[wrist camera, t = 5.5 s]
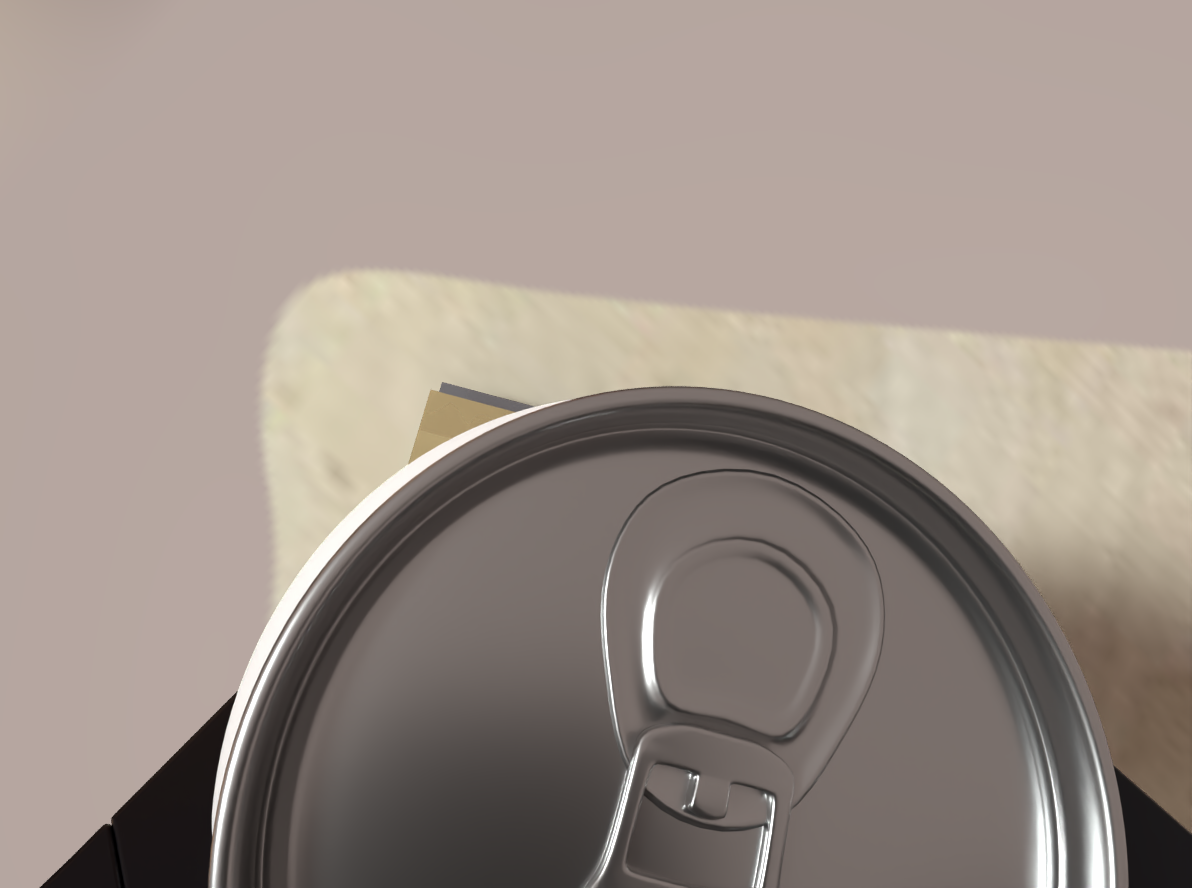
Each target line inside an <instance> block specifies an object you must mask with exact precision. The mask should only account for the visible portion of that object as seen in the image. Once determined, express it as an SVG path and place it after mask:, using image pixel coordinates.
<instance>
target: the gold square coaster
mask: <svg viewBox="0 0 1192 888" xmlns="http://www.w3.org/2000/svg"><path fill="white" fill-rule="evenodd" d="M533 407H534V406H530V405H526V404H522V403H519V402H515V401H511V400H507V399H504V398H500V397H496V396H492V395H489V394H485V393H481V392H477V391H474V390H470V389H466V388H462V387H459V386H455V385H451V384H447V383H444V382H442V384H441V388H440V391H439V392H438V391H434V390H431V391H430V394H429V397H428V401H427V404H426V407H425V410H424V414H423V417H422V420H421V424H420V427H419V430H418V434H417V437H416V440H415V444H414V447H413V450H412V454H411V457H410V460H409V463H408V464H410V463H411V462H413V461H414V460H416V459H417V458H419V457H420V456H422V455H424V454H425V453H427V452H429V451H430V450H432V449H434V448H435V447H437V446H439V445H441V444H442V443H444V442H446V441H448V440H450V439H452V438H454V437H456V436H458V435H460V434H462V433H464V432H466V431H468V430H470V429H472V428H475V427H477V426H480V425H482V424H484V423H487V422H489V421H492V420H495V419H497V418H500V417H503V416H506V415H509V414H512V413H515V412H518V411H522V410H525V409H529V408H533Z"/></svg>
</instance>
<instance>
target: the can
mask: <svg viewBox="0 0 1192 888" xmlns="http://www.w3.org/2000/svg"><path fill="white" fill-rule="evenodd" d="M208 888H1129V877H1128V860H1127V847H1126V837H1125V828H1124V821H1123V814H1122V807H1121V801H1120V795H1119V790H1118V785H1117V780H1116V775H1115V771H1114V767H1113V762H1112V758H1111V754H1110V751H1109V747H1108V743H1107V740H1106V736H1105V733H1104V730H1103V727H1102V723H1101V720H1100V717H1099V714H1098V711H1097V709H1096V706H1095V703H1094V700H1093V697H1092V695H1091V692H1090V690H1089V687H1088V685H1087V682H1086V680H1085V677H1084V675H1083V673H1082V670H1081V668H1080V666H1079V664H1078V661H1077V659H1076V657H1075V655H1074V653H1073V651H1072V649H1071V647H1070V645H1069V643H1068V641H1067V639H1066V637H1065V635H1064V633H1063V631H1062V630H1061V628H1060V626H1059V624H1058V622H1057V620H1056V619H1055V617H1054V615H1053V614H1052V612H1051V610H1050V609H1049V607H1048V605H1047V604H1046V602H1045V600H1044V599H1043V597H1042V596H1041V594H1040V593H1039V591H1038V590H1037V588H1036V587H1035V585H1034V584H1033V582H1032V581H1031V580H1030V578H1029V577H1028V575H1027V574H1026V573H1025V571H1024V570H1023V568H1022V567H1021V566H1020V564H1019V563H1018V562H1017V561H1016V559H1015V558H1014V557H1013V556H1012V554H1011V553H1010V552H1009V550H1008V549H1007V548H1006V547H1005V546H1004V545H1003V543H1002V542H1001V541H1000V540H999V539H998V538H997V536H996V535H995V534H994V533H993V532H992V531H991V530H990V529H989V528H988V527H987V525H986V524H985V523H984V522H983V521H982V520H981V519H980V518H979V517H978V516H977V515H976V514H975V513H974V512H973V511H972V510H971V509H970V508H969V507H968V506H967V505H966V504H965V503H963V502H962V501H961V500H960V499H959V498H958V497H957V496H956V495H955V494H953V493H952V492H951V491H950V490H949V489H948V488H946V487H945V486H944V485H943V484H942V483H940V482H939V481H938V480H937V479H935V478H934V477H933V476H931V475H930V474H929V473H927V472H926V471H925V470H924V469H922V468H921V467H919V466H918V465H917V464H915V463H914V462H912V461H911V460H909V459H908V458H906V457H905V456H903V455H902V454H900V453H899V452H897V451H895V450H894V449H892V448H891V447H889V446H887V445H886V444H884V443H882V442H880V441H879V440H877V439H875V438H873V437H872V436H870V435H868V434H866V433H864V432H862V431H860V430H858V429H856V428H854V427H852V426H850V425H847V424H845V423H843V422H841V421H839V420H836V419H834V418H831V417H829V416H826V415H824V414H821V413H819V412H816V411H813V410H810V409H807V408H805V407H802V406H799V405H795V404H792V403H788V402H785V401H782V400H778V399H774V398H769V397H765V396H761V395H756V394H751V393H746V392H740V391H733V390H726V389H717V388H706V387H686V386H663V387H644V388H634V389H624V390H617V391H611V392H604V393H599V394H594V395H589V396H584V397H580V398H576V399H572V400H565V401H559V402H555V403H550V404H545V405H540V406H537V407H533V408H529V409H525V410H522V411H518V412H515V413H512V414H509V415H506V416H503V417H500V418H497V419H495V420H492V421H489V422H487V423H484V424H482V425H480V426H477V427H475V428H472V429H470V430H468V431H466V432H464V433H462V434H460V435H458V436H456V437H454V438H452V439H450V440H448V441H446V442H444V443H442V444H441V445H439V446H437V447H435V448H434V449H432V450H430V451H429V452H427V453H425V454H424V455H422V456H420V457H419V458H417V459H416V460H414V461H413V462H411V463H410V464H408V465H407V466H405V467H404V468H403V469H401V470H400V471H398V472H397V473H396V474H394V475H393V476H392V477H390V478H389V479H388V480H386V481H385V482H384V483H383V484H382V485H380V486H379V487H378V488H377V489H375V490H374V491H373V492H372V493H371V494H370V495H368V496H367V497H366V498H365V499H364V500H363V501H362V502H361V503H359V504H358V505H357V506H356V507H355V508H354V509H353V510H352V511H351V512H350V513H349V514H348V515H347V516H346V517H345V518H344V519H343V520H342V521H341V522H340V523H339V524H338V526H337V527H336V528H335V529H334V530H333V531H332V532H331V533H330V534H329V535H328V537H327V538H326V539H325V540H324V541H323V542H322V544H321V545H320V546H319V547H318V548H317V550H316V551H315V552H314V553H313V555H312V556H311V557H310V559H309V560H308V561H307V562H306V564H305V565H304V566H303V568H302V569H301V571H300V572H299V573H298V575H297V576H296V578H295V579H294V581H293V582H292V584H291V585H290V587H289V588H288V590H287V591H286V593H285V595H284V596H283V598H282V599H281V601H280V602H279V604H278V606H277V608H276V609H275V611H274V613H273V615H272V616H271V618H270V620H269V622H268V624H267V626H266V628H265V630H264V632H263V634H262V636H261V637H260V640H259V641H258V644H257V646H256V648H255V650H254V653H253V655H252V657H251V660H250V662H249V664H248V667H247V669H246V671H245V674H244V676H243V679H242V682H241V684H240V687H239V690H238V693H237V696H236V699H235V702H234V705H233V708H232V711H231V715H230V718H229V722H228V725H227V729H226V733H225V737H224V741H223V745H222V749H221V754H220V760H219V765H218V770H217V776H216V783H215V790H214V797H213V808H212V843H211V852H210V863H209V874H208Z"/></svg>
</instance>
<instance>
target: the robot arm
mask: <svg viewBox="0 0 1192 888" xmlns="http://www.w3.org/2000/svg"><path fill="white" fill-rule="evenodd" d="M237 693H238V691H237V692H236V693H235V694H234V695H233V696H232V697H231V698H230V699H229V700H228V701H227V702H226V703H225V704H224V705H223V706H222V707H221V708H220V709H219V710H218V711H217V712H216V713H215V714H214V715H213V716H212V717H211V718H210V719H209V720H208V721H207V722H206V723H205V724H204V725H203V726H202V727H201V728H200V729H199V730H198V731H197V732H196V733H195V734H194V735H193V736H192V737H191V738H190V740H188V741H187V742H186V743H185V744H184V745H183V746H182V747H181V748H180V749H179V750H178V751H177V752H176V753H175V754H174V755H173V756H172V757H171V758H170V759H169V760H168V761H167V762H166V763H165V764H164V765H163V766H162V767H161V769H160V770H158V771H157V772H156V773H155V774H154V776H152V777H151V778H150V780H148V781H147V782H146V783H145V784H144V785H143V786H142V787H141V788H140V790H138V791H137V792H136V793H135V794H134V795H133V796H132V797H131V798H130V799H129V800H128V801H127V802H126V803H125V804H124V805H123V806H122V807H121V808H120V809H119V810H118V811H117V813H115V814H114V816H113V817H112V819H111V823H112V826H111V825H110V824H105V825H103V826H102V827H101V828H100V829H99V830H98V831H97V832H96V833H95V834H94V835H93V836H92V837H91V838H90V839H89V840H88V841H87V842H86V843H85V844H84V845H83V846H82V847H81V848H80V849H79V850H78V851H77V852H76V853H75V854H74V855H73V856H72V857H71V858H70V859H69V860H68V861H67V862H66V863H65V864H64V865H63V866H62V867H61V868H60V869H59V870H58V871H57V872H56V873H54V875H52V876H51V877H50V878H49V879H48V880H47V881H46V882H45V883H44V884H43V885H42V886H41V887H40V888H208V874H209V863H210V852H211V843H212V808H213V797H214V790H215V783H216V776H217V770H218V765H219V760H220V754H221V749H222V745H223V741H224V737H225V733H226V729H227V725H228V722H229V718H230V715H231V711H232V708H233V705H234V702H235V699H236V696H237ZM1113 767H1114V771H1115V775H1116V780H1117V785H1118V790H1119V795H1120V801H1121V807H1122V814H1123V821H1124V828H1125V837H1126V847H1127V860H1128V877H1129V888H1192V834H1191V833H1190V832H1189V831H1188V830H1187V829H1186V828H1185V827H1183V826H1182V825H1181V824H1180V823H1179V822H1178V821H1177V820H1175V819H1174V818H1173V817H1172V816H1171V815H1170V814H1169V813H1167V812H1166V811H1165V810H1164V809H1163V808H1162V807H1161V806H1159V805H1158V804H1157V803H1156V802H1155V801H1154V800H1153V799H1151V798H1150V797H1149V796H1148V795H1147V794H1146V793H1145V792H1143V791H1142V790H1141V789H1140V788H1139V787H1138V786H1137V785H1135V784H1134V783H1133V782H1132V781H1131V780H1130V779H1129V778H1128V777H1126V776H1125V775H1124V774H1123V773H1122V772H1121V771H1120V770H1118V769H1117V768H1116V767H1115V766H1114V765H1113Z"/></svg>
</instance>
